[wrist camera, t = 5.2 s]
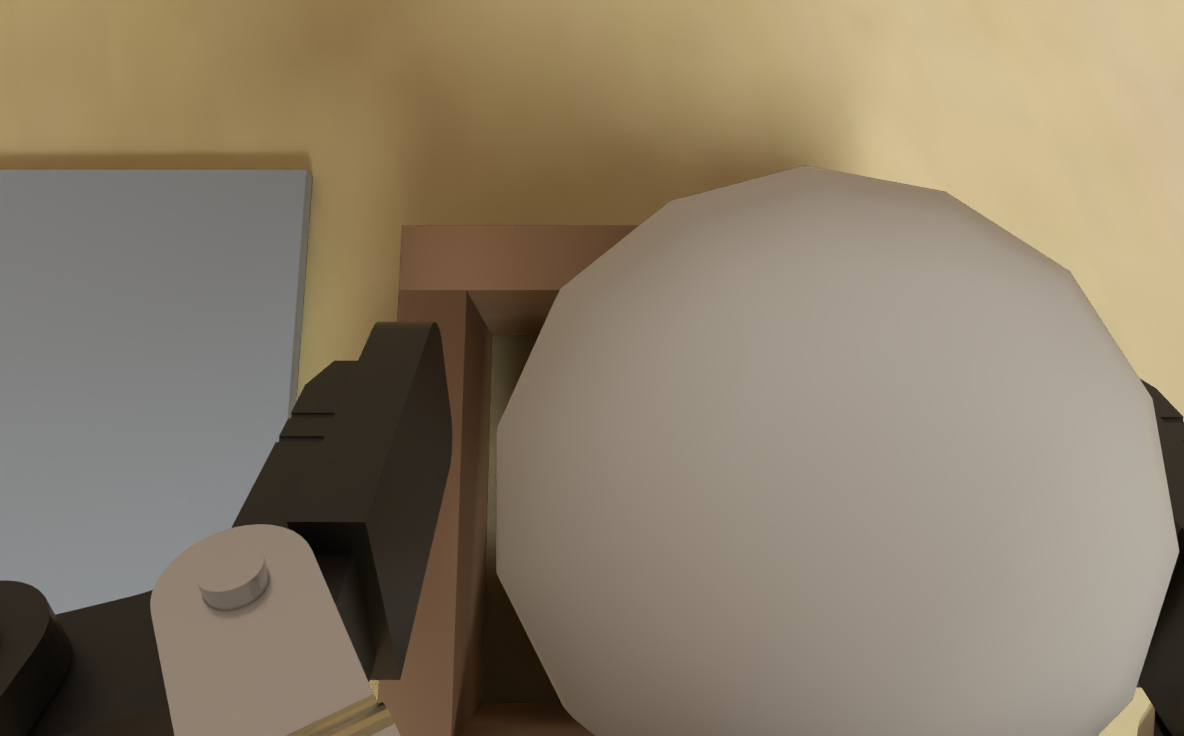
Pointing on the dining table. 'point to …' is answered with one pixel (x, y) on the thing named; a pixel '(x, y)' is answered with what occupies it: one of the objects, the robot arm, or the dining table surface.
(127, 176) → the rubber mat
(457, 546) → the pocket block
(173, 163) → the dining table surface
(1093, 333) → the salt shaker
